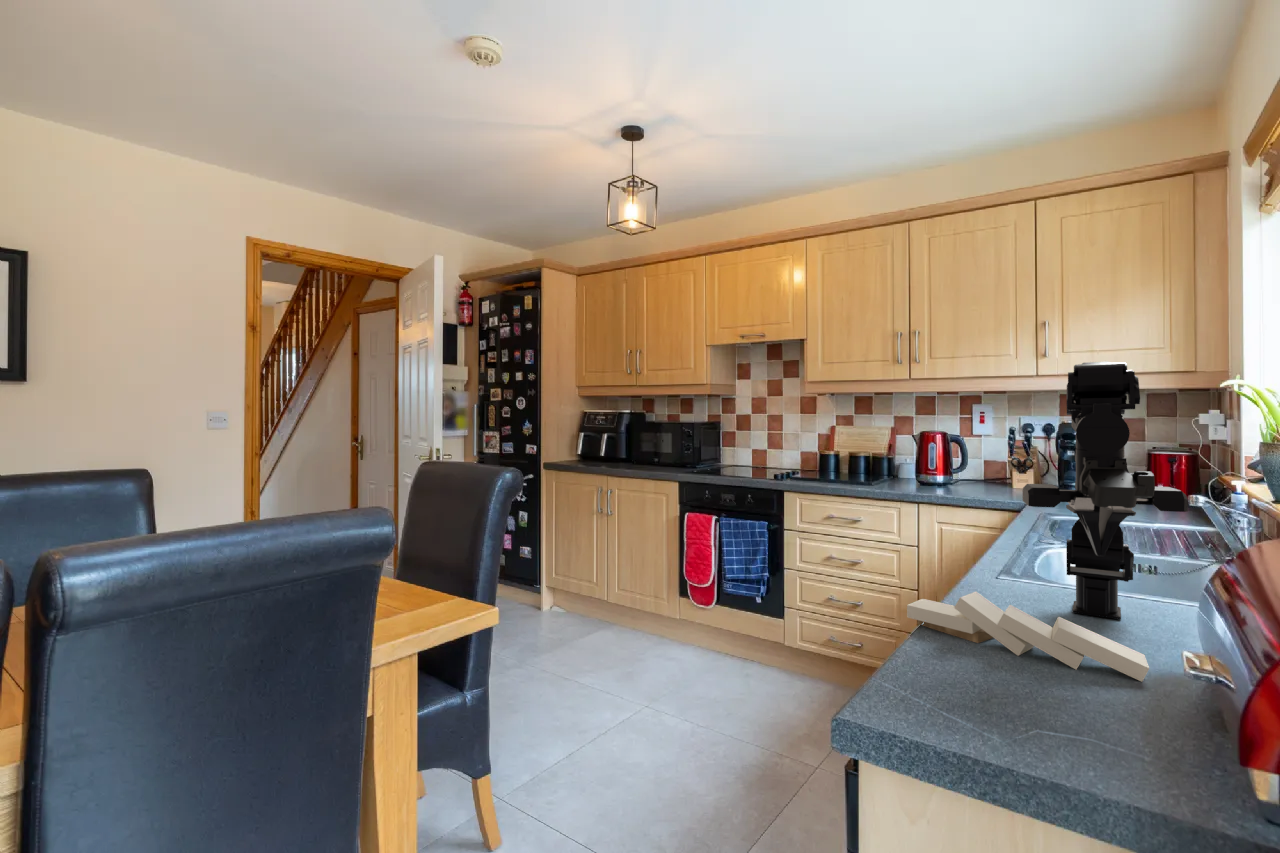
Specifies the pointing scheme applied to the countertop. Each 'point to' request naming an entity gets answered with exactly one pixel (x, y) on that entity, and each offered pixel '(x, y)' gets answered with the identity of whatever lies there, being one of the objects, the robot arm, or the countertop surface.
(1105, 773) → the countertop surface
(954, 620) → the domino
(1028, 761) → the countertop surface
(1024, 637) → the domino
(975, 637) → the domino
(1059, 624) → the domino
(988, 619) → the domino
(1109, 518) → the robot arm
